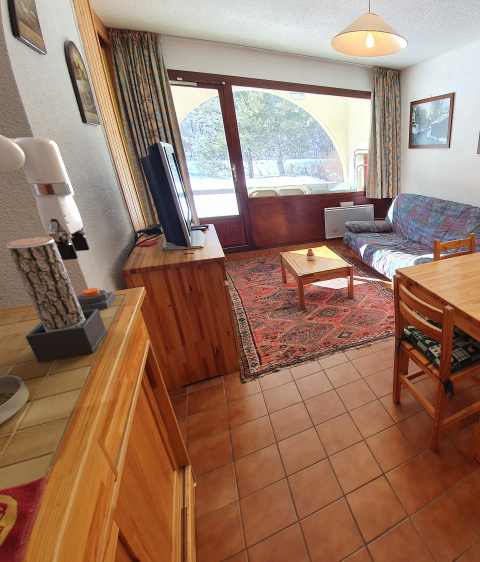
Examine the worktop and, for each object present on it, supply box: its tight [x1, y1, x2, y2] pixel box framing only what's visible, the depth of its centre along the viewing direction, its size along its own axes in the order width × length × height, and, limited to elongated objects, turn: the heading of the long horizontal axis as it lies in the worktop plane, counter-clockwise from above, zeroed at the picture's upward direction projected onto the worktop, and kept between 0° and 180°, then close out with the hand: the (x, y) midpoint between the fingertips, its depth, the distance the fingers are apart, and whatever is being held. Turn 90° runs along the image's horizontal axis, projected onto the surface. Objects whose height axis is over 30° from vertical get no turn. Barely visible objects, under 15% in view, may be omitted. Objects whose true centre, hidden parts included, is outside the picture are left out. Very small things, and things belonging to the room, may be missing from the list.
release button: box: [81, 287, 100, 298], centre depth 91 cm, size 4×4×2 cm
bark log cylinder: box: [5, 236, 86, 332], centre depth 68 cm, size 7×7×25 cm
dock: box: [25, 309, 107, 364], centre depth 72 cm, size 10×10×7 cm
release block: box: [76, 289, 117, 311], centre depth 92 cm, size 8×8×4 cm
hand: (76, 254), depth 87 cm, fingers open, 7 cm apart
